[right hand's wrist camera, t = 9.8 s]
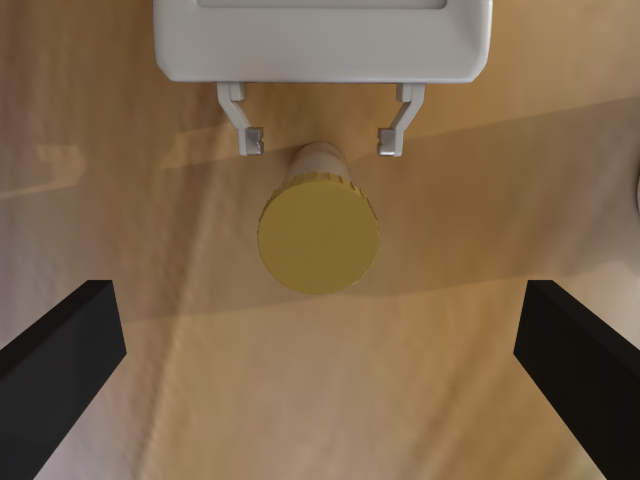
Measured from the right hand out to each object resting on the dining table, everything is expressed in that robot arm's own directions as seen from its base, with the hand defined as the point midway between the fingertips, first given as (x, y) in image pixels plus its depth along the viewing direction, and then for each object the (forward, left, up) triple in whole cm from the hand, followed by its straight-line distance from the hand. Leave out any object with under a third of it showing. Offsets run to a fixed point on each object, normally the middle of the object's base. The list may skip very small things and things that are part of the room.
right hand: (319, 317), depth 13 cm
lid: (0, 0, -6) cm, 6 cm away
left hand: (-2, +2, -17) cm, 17 cm away
